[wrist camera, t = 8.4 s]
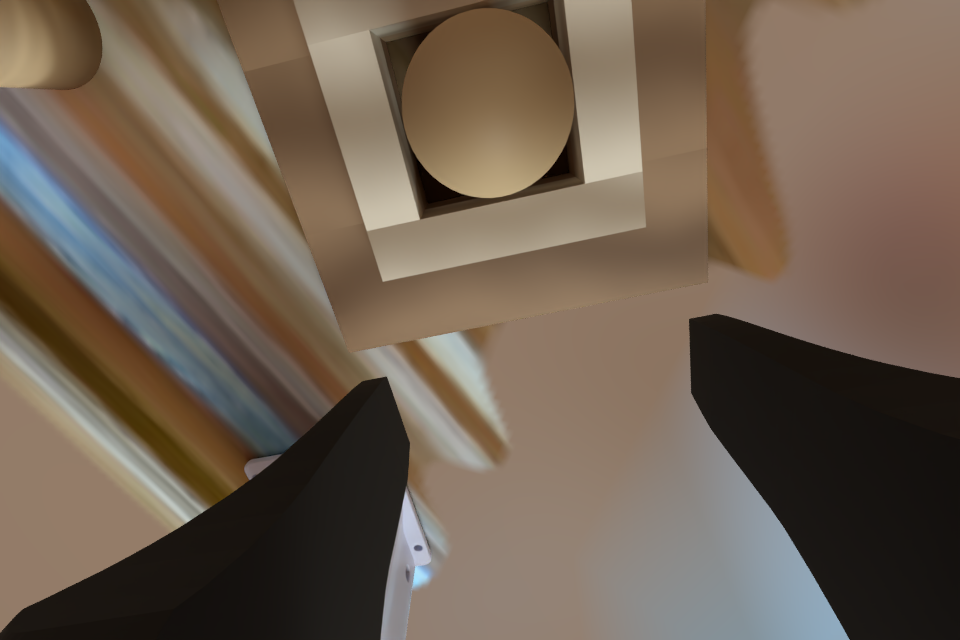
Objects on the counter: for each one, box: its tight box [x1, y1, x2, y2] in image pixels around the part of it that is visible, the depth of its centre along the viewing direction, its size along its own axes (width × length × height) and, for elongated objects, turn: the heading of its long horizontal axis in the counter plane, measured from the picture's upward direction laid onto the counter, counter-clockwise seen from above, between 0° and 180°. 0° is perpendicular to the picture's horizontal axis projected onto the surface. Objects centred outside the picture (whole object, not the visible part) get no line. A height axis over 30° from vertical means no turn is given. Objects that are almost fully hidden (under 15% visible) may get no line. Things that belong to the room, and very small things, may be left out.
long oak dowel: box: [402, 8, 574, 198], centre depth 14 cm, size 4×4×8 cm
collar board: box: [217, 0, 708, 353], centre depth 17 cm, size 17×16×3 cm
